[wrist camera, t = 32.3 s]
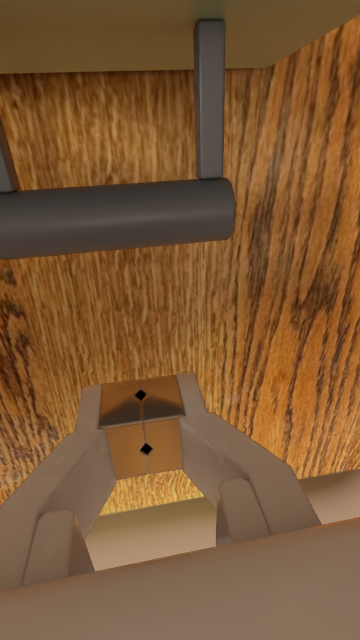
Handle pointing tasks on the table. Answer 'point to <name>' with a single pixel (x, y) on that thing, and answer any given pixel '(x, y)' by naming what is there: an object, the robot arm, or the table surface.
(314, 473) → the table surface
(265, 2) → the drawer
